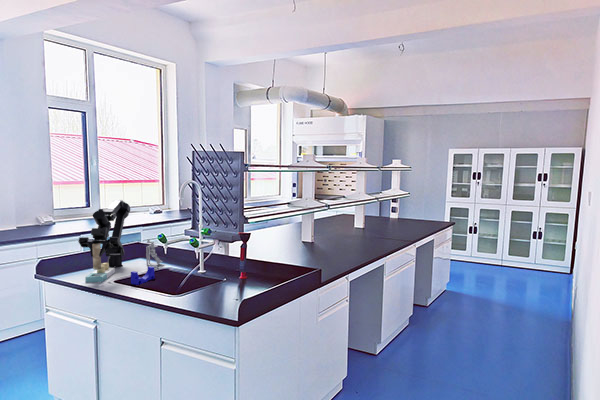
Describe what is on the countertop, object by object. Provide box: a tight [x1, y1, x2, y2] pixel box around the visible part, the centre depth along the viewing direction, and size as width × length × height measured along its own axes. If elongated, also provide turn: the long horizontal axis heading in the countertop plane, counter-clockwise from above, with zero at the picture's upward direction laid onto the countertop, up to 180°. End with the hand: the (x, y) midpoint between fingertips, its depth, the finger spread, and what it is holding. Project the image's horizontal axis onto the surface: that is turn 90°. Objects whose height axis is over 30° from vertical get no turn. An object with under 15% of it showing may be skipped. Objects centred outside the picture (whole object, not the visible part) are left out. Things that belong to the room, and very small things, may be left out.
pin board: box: [84, 262, 116, 283], centre depth 204 cm, size 17×8×6 cm, turn 6°
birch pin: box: [92, 244, 102, 271], centre depth 198 cm, size 4×4×12 cm
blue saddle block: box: [130, 266, 155, 286], centre depth 199 cm, size 12×4×6 cm, turn 153°
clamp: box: [145, 238, 164, 267], centre depth 229 cm, size 4×10×15 cm, turn 89°
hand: (95, 256), depth 197 cm, fingers closed on birch pin, 4 cm apart
